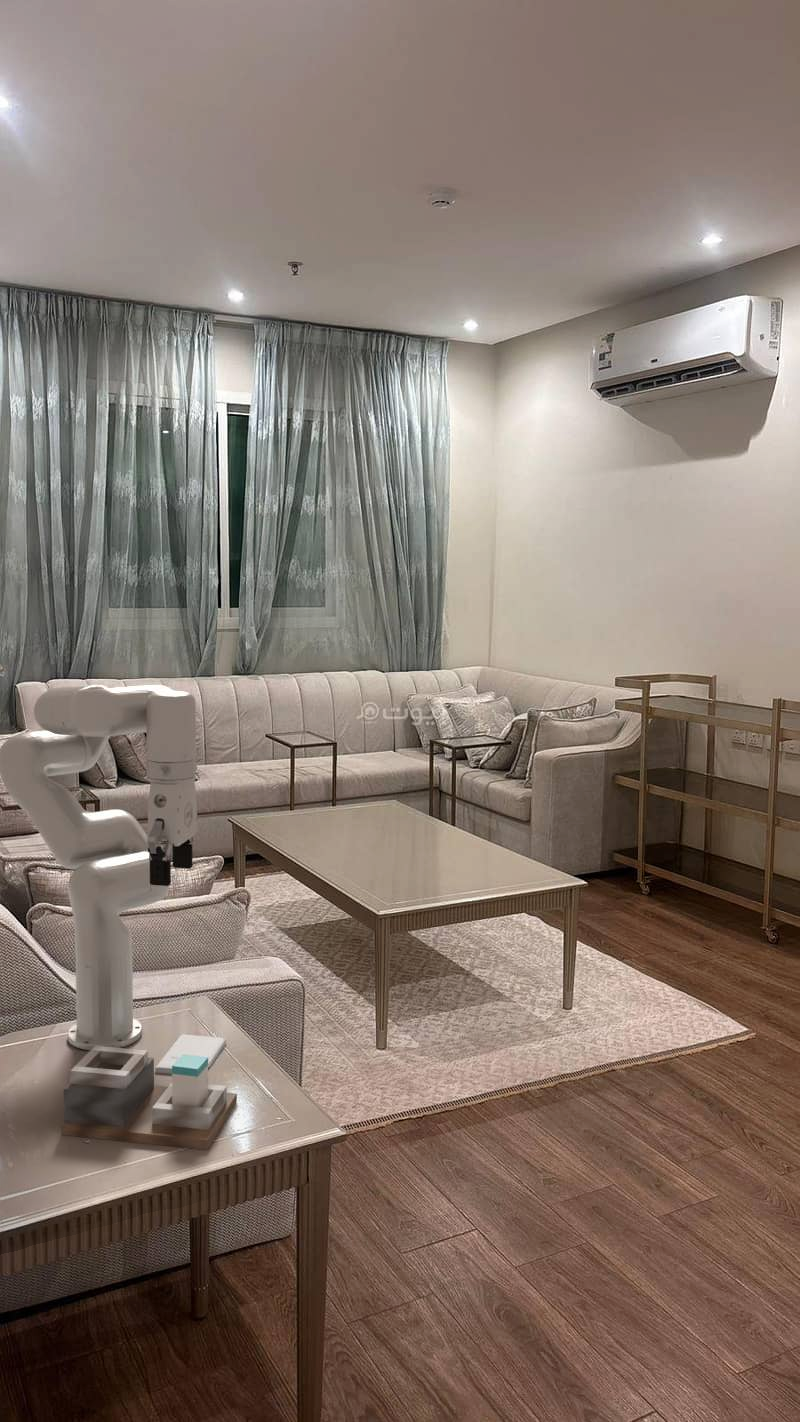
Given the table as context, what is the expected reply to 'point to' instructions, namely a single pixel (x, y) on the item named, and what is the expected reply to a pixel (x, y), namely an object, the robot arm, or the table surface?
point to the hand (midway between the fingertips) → (171, 876)
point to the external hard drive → (191, 1050)
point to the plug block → (190, 1081)
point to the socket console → (137, 1103)
